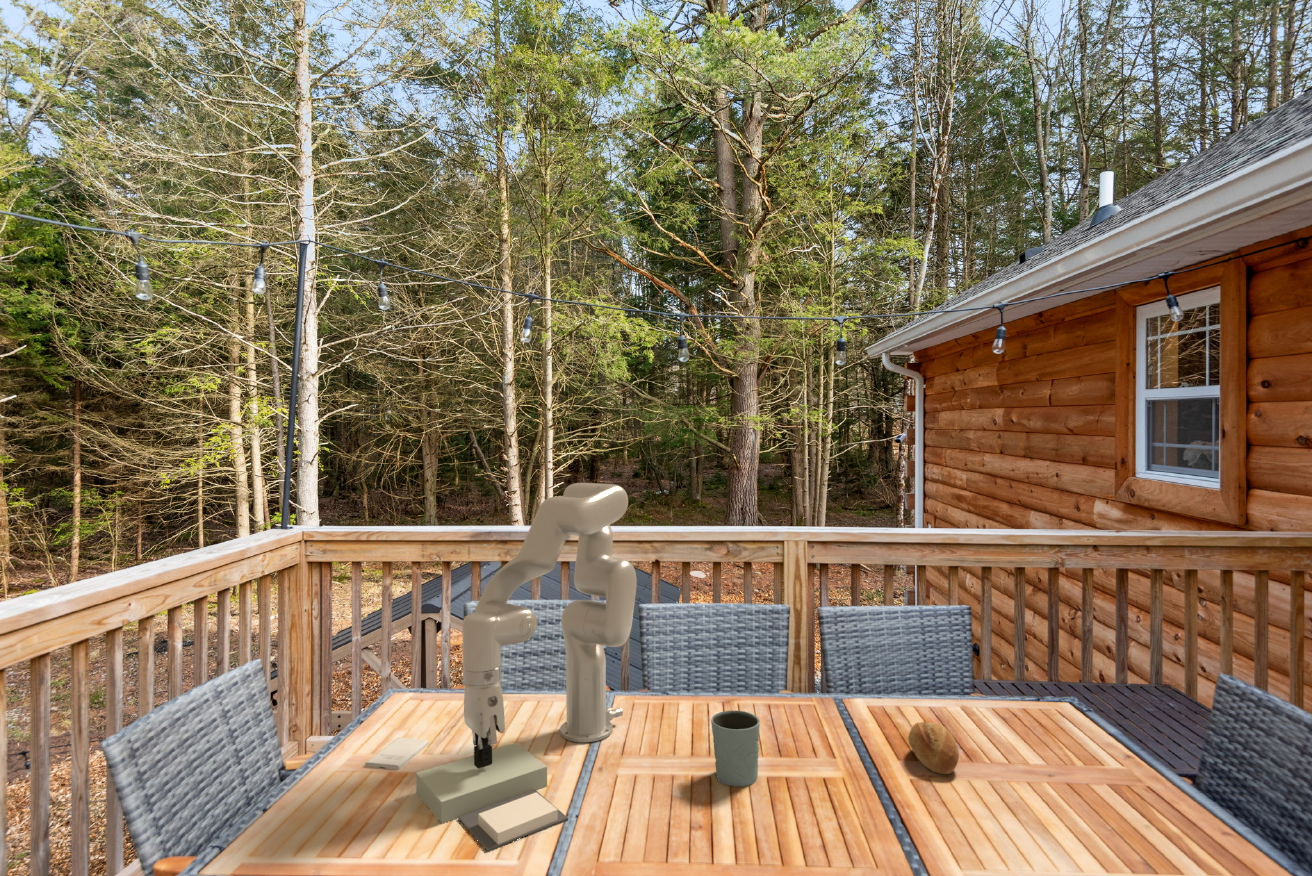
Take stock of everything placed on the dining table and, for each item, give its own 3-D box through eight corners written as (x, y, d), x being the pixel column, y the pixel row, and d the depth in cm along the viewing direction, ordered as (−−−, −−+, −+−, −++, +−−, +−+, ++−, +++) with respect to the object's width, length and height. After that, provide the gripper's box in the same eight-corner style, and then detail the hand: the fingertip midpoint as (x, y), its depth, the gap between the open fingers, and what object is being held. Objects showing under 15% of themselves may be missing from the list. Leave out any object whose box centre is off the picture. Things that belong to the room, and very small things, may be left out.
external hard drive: (429, 747, 161) (399, 772, 149) (397, 744, 162) (364, 768, 150) (429, 740, 161) (398, 764, 149) (397, 737, 162) (364, 761, 150)
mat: (535, 791, 139) (535, 789, 139) (568, 820, 129) (568, 817, 129) (458, 819, 129) (458, 817, 129) (487, 852, 119) (487, 849, 119)
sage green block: (516, 760, 152) (516, 742, 152) (547, 786, 141) (547, 766, 141) (416, 792, 139) (416, 773, 139) (441, 823, 128) (441, 802, 128)
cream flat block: (557, 809, 128) (557, 820, 128) (536, 792, 134) (536, 802, 134) (498, 833, 120) (498, 844, 121) (478, 813, 127) (478, 824, 127)
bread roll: (920, 778, 144) (920, 740, 144) (900, 746, 159) (900, 711, 159) (968, 780, 143) (968, 741, 143) (944, 747, 158) (943, 712, 158)
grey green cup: (758, 791, 139) (758, 731, 139) (708, 786, 141) (708, 727, 141) (761, 767, 149) (760, 711, 149) (714, 763, 151) (714, 708, 151)
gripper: (516, 681, 136) (517, 773, 136) (484, 661, 148) (484, 747, 148) (480, 690, 132) (481, 786, 132) (450, 669, 143) (451, 757, 144)
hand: (483, 765), depth 140 cm, fingers closed
